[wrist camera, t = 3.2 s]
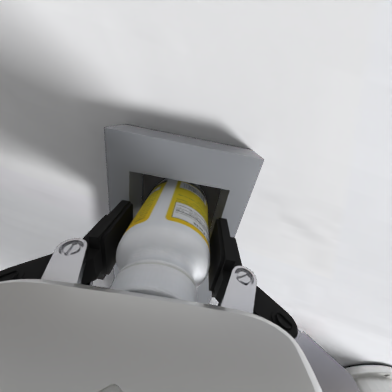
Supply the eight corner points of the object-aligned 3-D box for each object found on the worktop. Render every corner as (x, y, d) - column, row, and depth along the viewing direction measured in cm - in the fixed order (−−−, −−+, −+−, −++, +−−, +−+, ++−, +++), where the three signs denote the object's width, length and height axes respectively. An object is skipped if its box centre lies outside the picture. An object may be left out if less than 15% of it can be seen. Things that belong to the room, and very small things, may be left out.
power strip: (196, 314, 24) (194, 345, 21) (127, 303, 23) (115, 334, 20) (251, 149, 13) (267, 162, 10) (125, 124, 13) (98, 128, 9)
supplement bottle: (155, 226, 17) (103, 347, 8) (146, 176, 14) (57, 274, 6) (208, 225, 17) (212, 351, 8) (207, 174, 14) (213, 275, 5)
